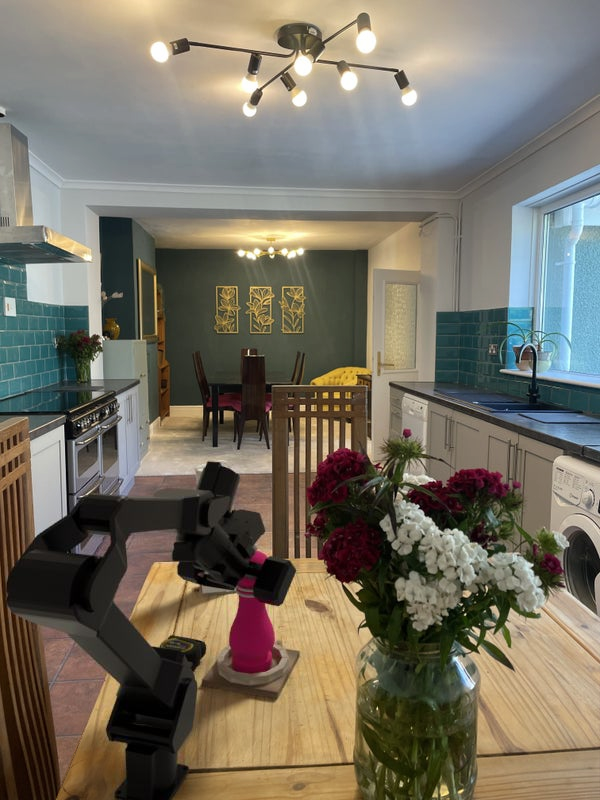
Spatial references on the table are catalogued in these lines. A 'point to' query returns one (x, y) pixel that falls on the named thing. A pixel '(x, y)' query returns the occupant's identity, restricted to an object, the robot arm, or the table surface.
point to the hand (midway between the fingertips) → (257, 593)
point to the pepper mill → (251, 628)
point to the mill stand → (254, 683)
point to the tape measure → (186, 648)
